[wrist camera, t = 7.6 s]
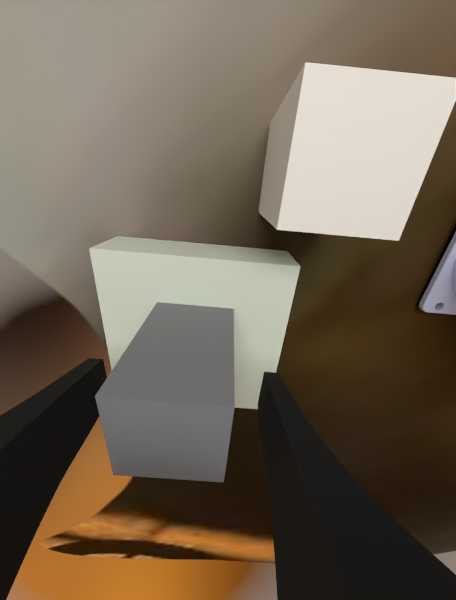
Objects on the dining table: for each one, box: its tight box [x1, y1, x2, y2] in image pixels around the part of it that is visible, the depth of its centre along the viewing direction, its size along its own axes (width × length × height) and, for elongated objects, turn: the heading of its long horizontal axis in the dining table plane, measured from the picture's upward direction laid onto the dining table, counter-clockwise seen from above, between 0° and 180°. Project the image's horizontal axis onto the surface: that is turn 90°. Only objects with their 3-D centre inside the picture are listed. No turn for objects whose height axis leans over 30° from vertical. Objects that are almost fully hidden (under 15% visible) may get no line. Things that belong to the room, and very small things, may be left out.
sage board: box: [89, 236, 301, 409], centre depth 14 cm, size 10×10×3 cm
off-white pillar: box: [258, 62, 456, 241], centre depth 9 cm, size 4×4×6 cm
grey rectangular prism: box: [95, 302, 235, 482], centre depth 10 cm, size 4×4×6 cm
